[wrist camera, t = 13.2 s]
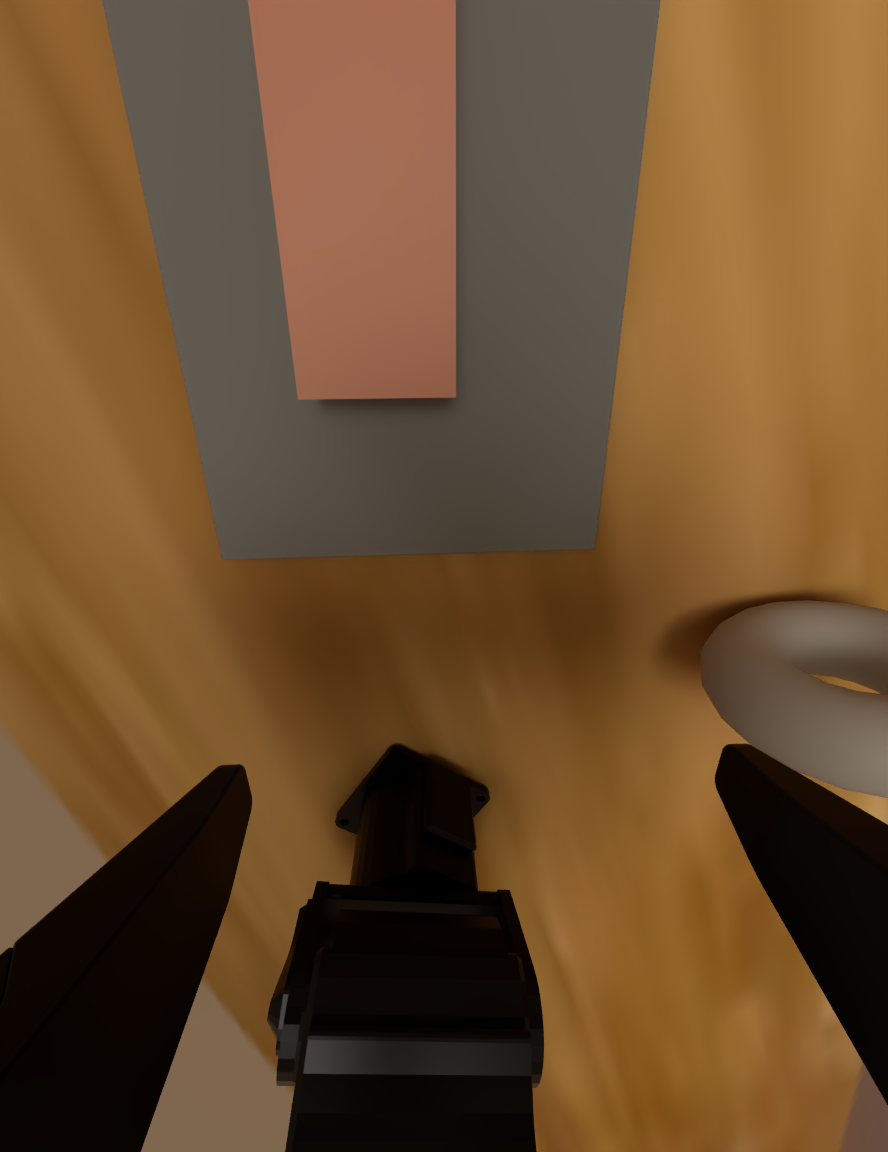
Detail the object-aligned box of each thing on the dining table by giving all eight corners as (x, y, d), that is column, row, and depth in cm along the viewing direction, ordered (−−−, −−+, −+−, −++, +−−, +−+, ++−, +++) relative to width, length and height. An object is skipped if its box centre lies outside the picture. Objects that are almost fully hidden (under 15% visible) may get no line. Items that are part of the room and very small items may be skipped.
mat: (590, 544, 21) (594, 549, 21) (227, 554, 21) (222, 559, 20) (667, -132, 13) (678, -154, 13) (82, -143, 13) (66, -166, 12)
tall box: (455, 397, 15) (455, -226, 10) (297, 399, 15) (219, -234, 10) (450, 393, 18) (448, -98, 13) (317, 395, 18) (263, -101, 13)
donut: (656, 664, 24) (803, 847, 15) (660, 604, 22) (823, 763, 13) (854, 637, 24) (1128, 804, 15) (870, 575, 22) (1183, 716, 13)
